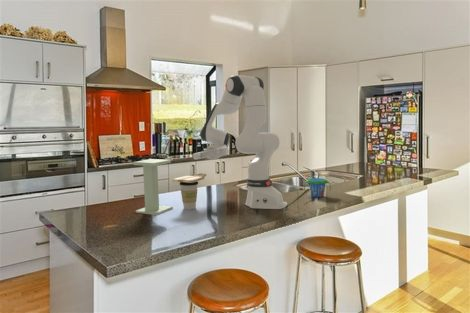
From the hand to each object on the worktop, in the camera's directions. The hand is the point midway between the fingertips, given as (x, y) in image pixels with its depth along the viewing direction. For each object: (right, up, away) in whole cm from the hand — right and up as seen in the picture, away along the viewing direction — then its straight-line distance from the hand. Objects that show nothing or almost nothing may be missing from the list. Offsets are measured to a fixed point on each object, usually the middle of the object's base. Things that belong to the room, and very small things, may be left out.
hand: (207, 154), depth 209 cm
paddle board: (-7, -13, -9) cm, 17 cm away
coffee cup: (-9, -29, -11) cm, 32 cm away
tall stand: (-27, -29, -15) cm, 42 cm away
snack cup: (+64, -25, +12) cm, 69 cm away
